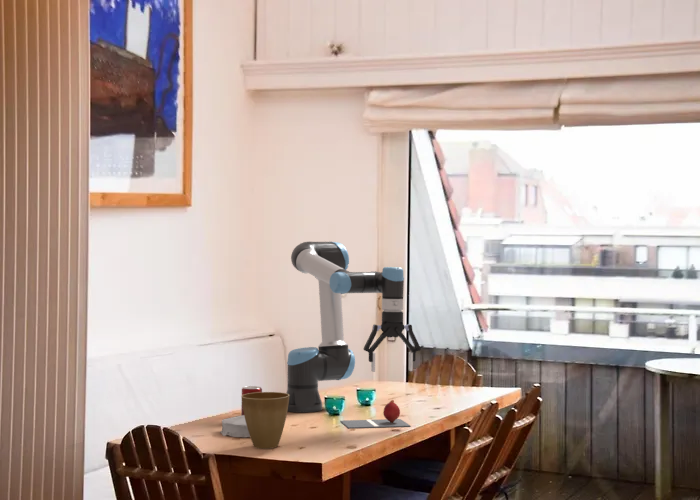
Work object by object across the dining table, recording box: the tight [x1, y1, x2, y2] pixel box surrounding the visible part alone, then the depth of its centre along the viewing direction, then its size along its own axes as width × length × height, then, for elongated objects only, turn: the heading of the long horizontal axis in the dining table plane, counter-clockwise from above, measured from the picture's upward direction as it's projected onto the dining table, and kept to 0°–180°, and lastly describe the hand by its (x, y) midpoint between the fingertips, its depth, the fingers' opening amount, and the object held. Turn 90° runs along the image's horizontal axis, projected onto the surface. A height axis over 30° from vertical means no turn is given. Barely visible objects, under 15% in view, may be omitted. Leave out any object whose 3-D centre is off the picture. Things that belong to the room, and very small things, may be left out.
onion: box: [382, 399, 401, 423], centre depth 353 cm, size 6×6×8 cm
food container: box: [219, 415, 250, 438], centre depth 334 cm, size 20×20×7 cm
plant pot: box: [240, 391, 289, 450], centre depth 310 cm, size 15×15×16 cm
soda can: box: [240, 385, 263, 416], centre depth 356 cm, size 7×7×12 cm
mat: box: [340, 418, 412, 430], centre depth 352 cm, size 22×14×1 cm, turn 102°
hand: (391, 371), depth 353 cm, fingers open, 13 cm apart
